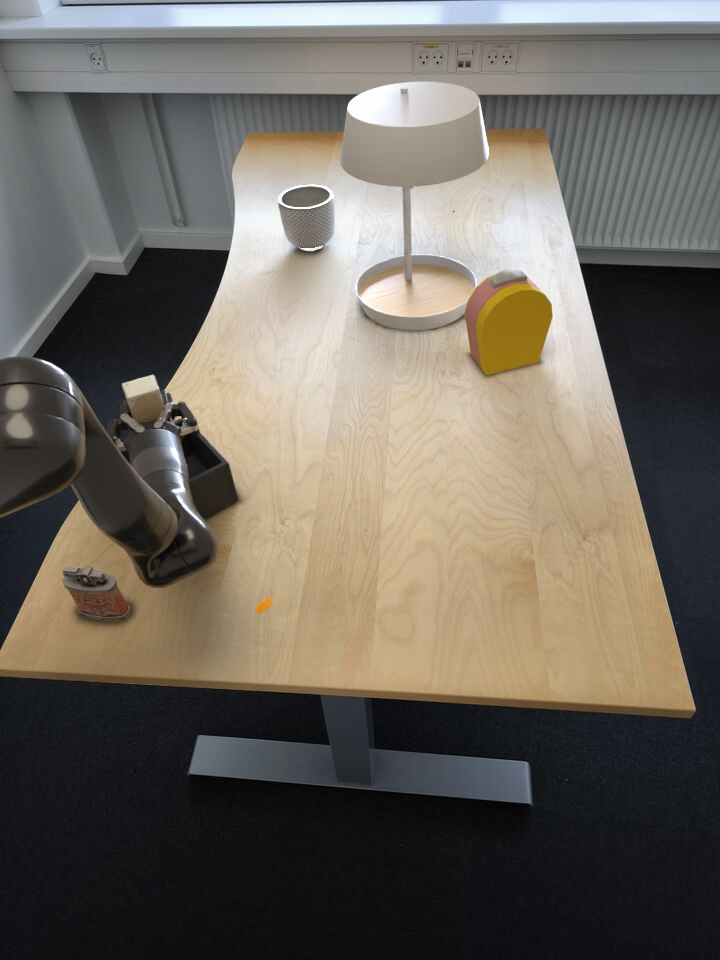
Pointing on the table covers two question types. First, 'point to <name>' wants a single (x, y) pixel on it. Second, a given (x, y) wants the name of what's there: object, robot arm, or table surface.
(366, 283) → the lamp
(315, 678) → the table surface
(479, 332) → the alarm clock
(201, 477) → the bin
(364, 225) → the table surface
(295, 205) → the planter
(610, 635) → the table surface
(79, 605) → the lighter
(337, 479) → the table surface
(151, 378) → the box
